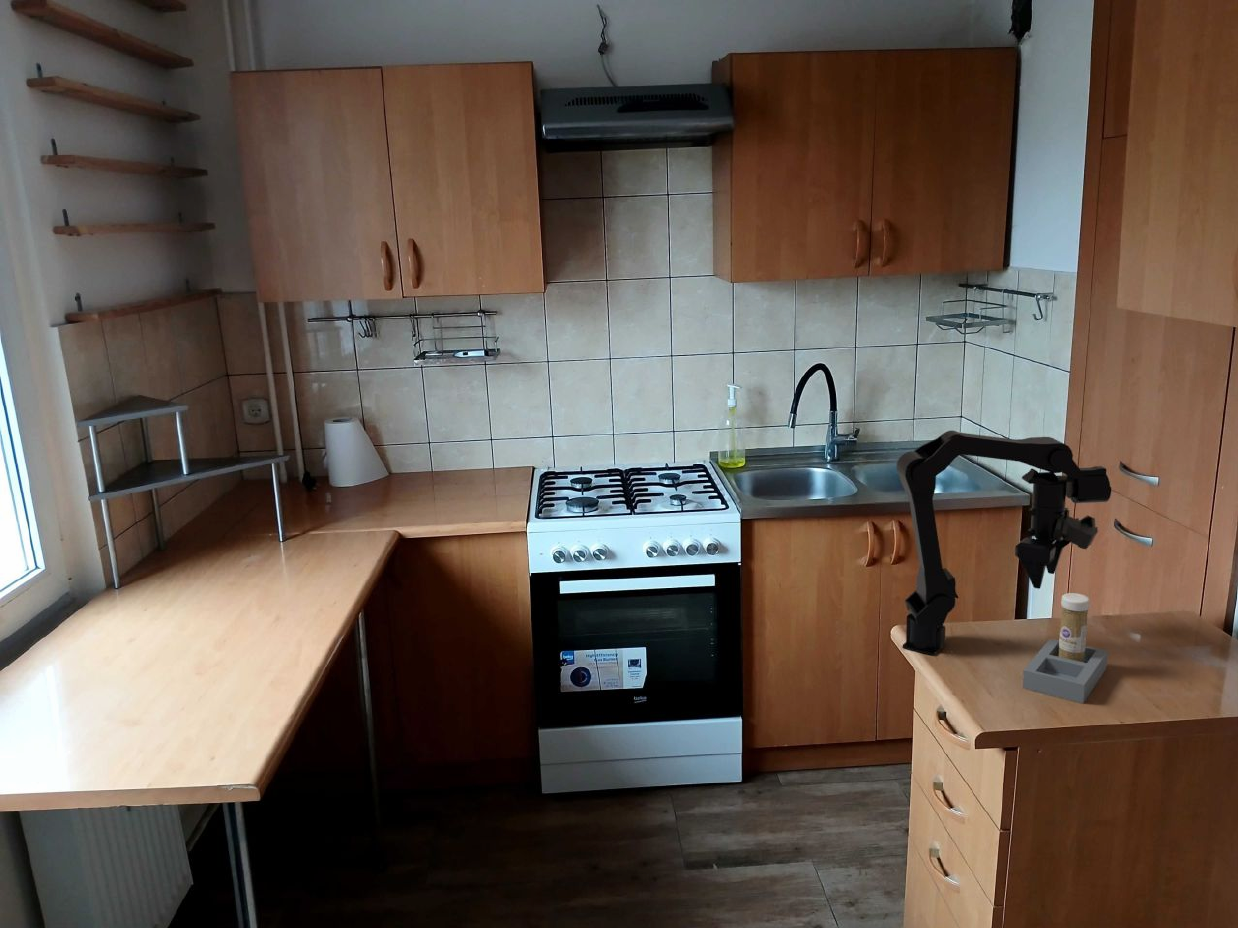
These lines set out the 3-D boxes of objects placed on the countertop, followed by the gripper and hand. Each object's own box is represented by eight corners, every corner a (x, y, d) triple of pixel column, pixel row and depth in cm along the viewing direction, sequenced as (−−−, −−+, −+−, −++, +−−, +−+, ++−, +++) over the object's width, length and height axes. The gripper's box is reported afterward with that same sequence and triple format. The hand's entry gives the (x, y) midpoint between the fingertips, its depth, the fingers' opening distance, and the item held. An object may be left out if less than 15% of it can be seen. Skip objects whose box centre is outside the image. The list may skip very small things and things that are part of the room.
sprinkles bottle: (1053, 665, 171) (1057, 597, 168) (1064, 656, 174) (1068, 590, 171) (1078, 672, 167) (1083, 603, 164) (1089, 664, 170) (1094, 596, 167)
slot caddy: (1022, 687, 165) (1023, 670, 164) (1049, 655, 177) (1050, 638, 176) (1083, 703, 159) (1084, 684, 158) (1106, 668, 171) (1107, 650, 170)
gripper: (1081, 523, 164) (1075, 605, 167) (1107, 497, 178) (1101, 573, 181) (1016, 514, 171) (1012, 592, 175) (1046, 490, 185) (1042, 563, 188)
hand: (1044, 580), depth 179 cm, fingers open, 9 cm apart
